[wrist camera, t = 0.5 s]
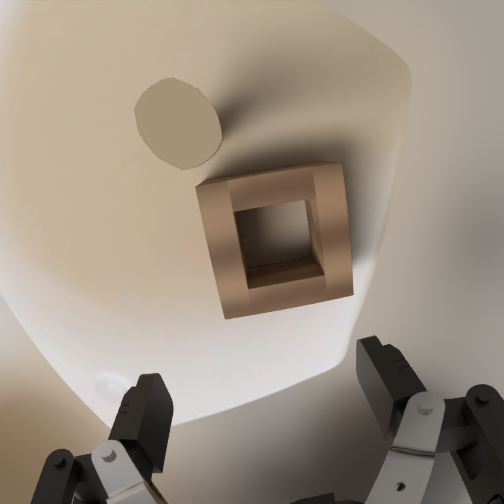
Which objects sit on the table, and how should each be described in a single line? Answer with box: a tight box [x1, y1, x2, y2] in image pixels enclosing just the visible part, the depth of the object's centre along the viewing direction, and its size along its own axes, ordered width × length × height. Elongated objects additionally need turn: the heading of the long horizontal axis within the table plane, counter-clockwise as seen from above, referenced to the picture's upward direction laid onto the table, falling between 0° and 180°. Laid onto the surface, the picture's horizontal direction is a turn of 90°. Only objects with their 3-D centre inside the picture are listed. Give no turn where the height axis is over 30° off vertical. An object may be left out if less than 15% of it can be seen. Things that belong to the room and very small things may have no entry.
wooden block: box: [195, 161, 354, 319], centre depth 33 cm, size 14×14×6 cm
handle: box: [134, 78, 223, 170], centre depth 25 cm, size 5×6×15 cm
